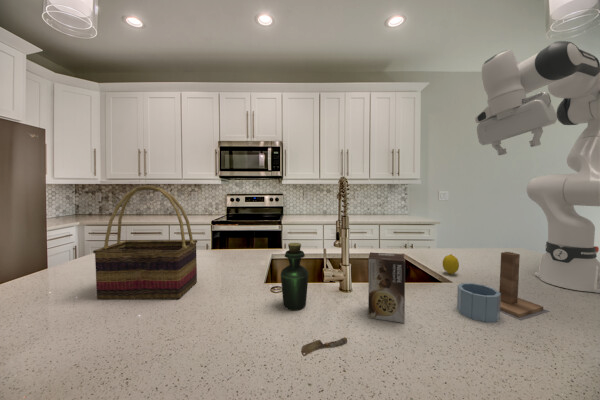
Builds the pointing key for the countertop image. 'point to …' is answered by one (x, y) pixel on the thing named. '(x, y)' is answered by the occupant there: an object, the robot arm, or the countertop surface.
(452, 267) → the lemon
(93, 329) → the countertop surface
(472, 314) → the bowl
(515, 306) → the wooden post on board
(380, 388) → the countertop surface
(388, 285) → the coffee box
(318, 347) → the meat cleaver
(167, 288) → the basket
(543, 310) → the mat
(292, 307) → the potion bottle
